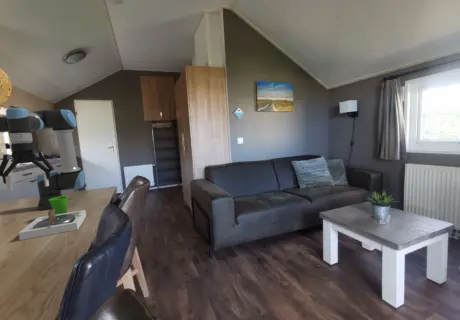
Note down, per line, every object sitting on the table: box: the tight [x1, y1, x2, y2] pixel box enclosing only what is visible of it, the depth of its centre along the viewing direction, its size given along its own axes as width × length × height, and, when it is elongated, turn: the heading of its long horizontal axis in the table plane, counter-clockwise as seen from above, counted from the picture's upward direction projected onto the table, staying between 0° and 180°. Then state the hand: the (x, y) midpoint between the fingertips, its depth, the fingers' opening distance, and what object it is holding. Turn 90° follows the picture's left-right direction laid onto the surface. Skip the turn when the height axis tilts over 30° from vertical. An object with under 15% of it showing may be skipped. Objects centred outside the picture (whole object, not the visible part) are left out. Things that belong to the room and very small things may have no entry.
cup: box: [49, 195, 69, 215], centre depth 130 cm, size 9×9×11 cm
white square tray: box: [18, 209, 87, 241], centre depth 114 cm, size 22×22×4 cm
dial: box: [36, 209, 75, 229], centre depth 114 cm, size 16×16×8 cm
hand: (29, 188), depth 104 cm, fingers open, 13 cm apart
